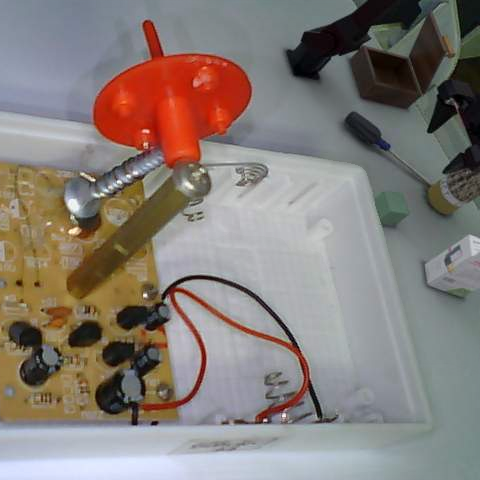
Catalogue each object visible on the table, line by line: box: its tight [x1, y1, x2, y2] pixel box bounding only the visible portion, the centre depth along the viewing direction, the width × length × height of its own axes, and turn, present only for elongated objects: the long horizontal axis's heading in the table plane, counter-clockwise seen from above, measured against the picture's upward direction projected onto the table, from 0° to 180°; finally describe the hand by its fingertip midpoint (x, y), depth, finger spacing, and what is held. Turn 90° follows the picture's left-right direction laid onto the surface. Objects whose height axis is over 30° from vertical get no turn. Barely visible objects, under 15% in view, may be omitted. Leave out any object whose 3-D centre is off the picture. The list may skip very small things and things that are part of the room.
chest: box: [349, 44, 423, 110], centre depth 168 cm, size 13×11×5 cm
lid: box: [408, 10, 456, 95], centre depth 163 cm, size 13×11×5 cm
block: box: [373, 189, 410, 227], centre depth 148 cm, size 5×5×5 cm
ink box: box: [424, 234, 480, 298], centre depth 142 cm, size 9×5×15 cm, turn 84°
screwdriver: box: [344, 110, 434, 188], centre depth 158 cm, size 26×4×4 cm, turn 65°
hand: (436, 152), depth 146 cm, fingers open, 9 cm apart
